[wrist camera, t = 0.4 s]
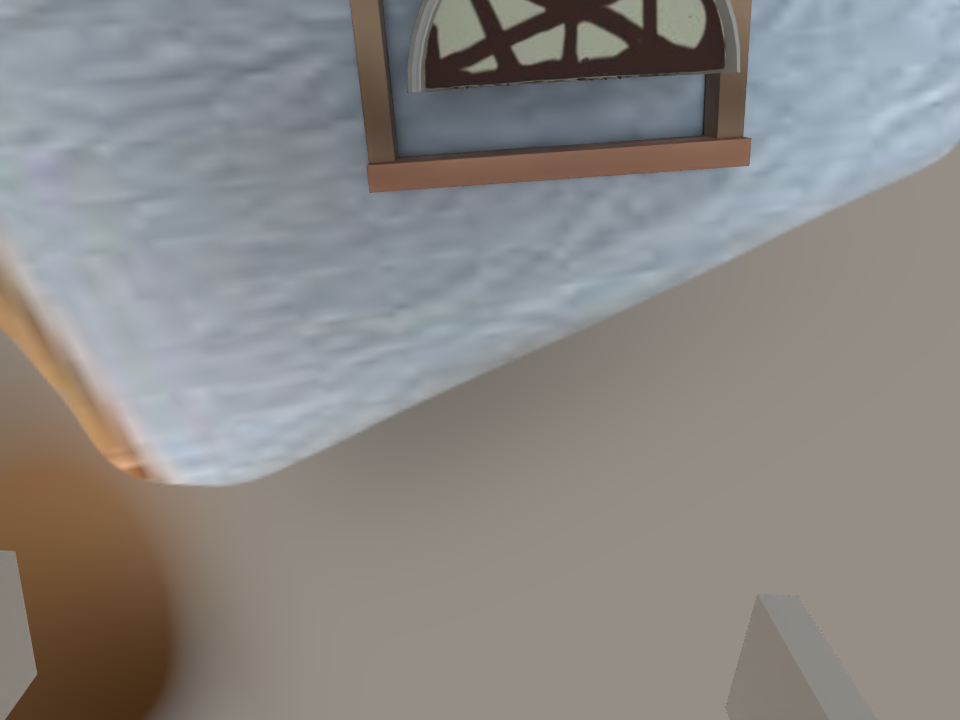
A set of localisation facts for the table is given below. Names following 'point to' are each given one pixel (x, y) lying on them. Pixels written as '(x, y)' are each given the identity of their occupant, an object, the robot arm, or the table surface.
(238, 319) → the table surface
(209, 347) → the table surface
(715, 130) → the walnut bed frame
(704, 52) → the food container
